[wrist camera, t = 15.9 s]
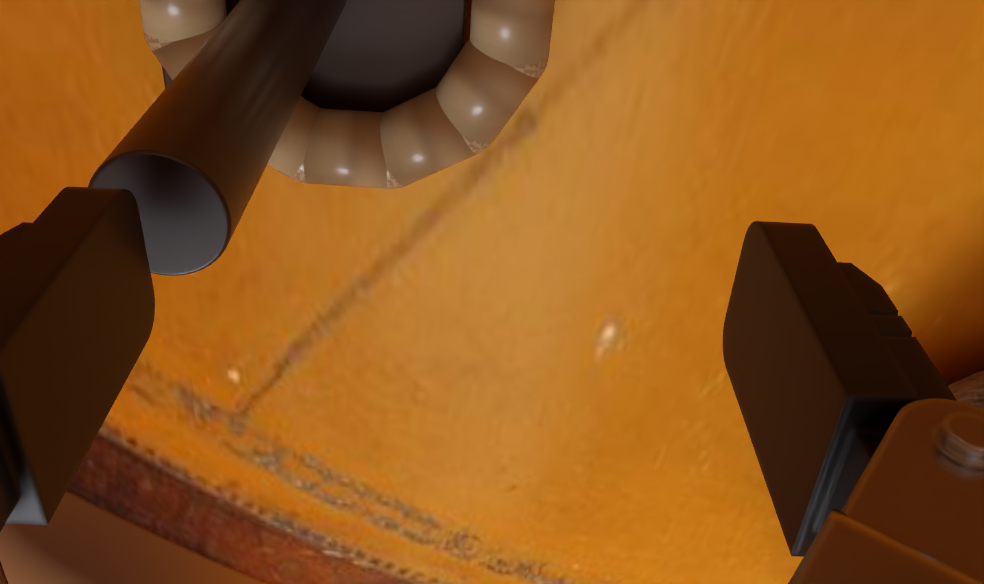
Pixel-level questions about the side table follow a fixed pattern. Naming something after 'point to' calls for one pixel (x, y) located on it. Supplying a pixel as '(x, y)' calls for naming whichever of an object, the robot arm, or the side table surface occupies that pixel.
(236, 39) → the peg stand
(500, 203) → the side table surface
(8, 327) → the robot arm
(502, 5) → the ring
